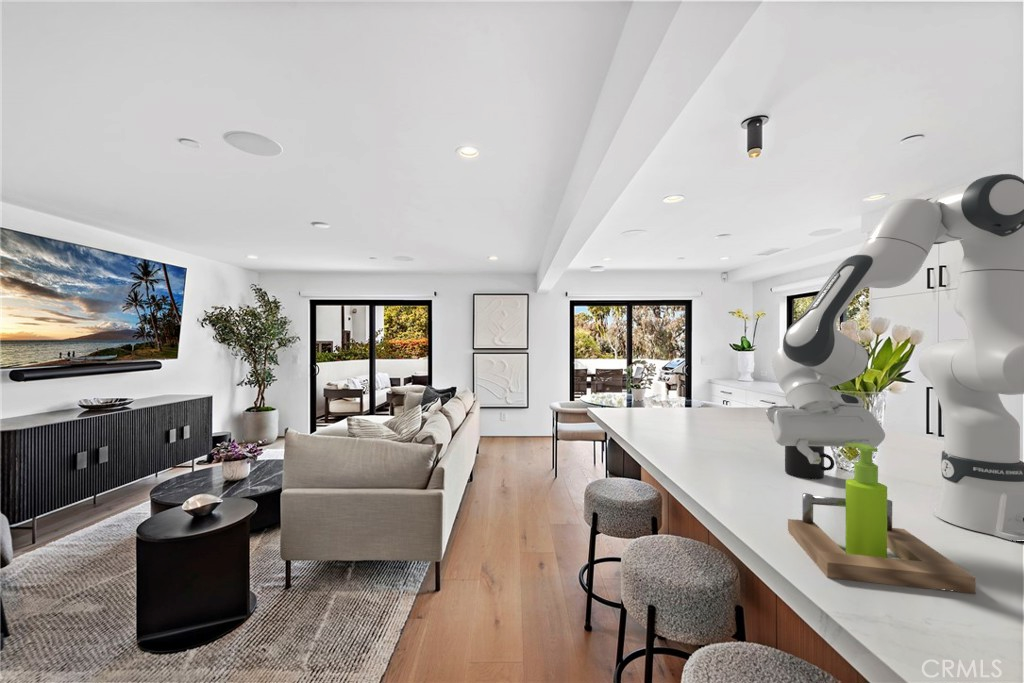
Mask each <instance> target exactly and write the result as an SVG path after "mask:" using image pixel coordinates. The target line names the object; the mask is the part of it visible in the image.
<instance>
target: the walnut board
mask: <svg viewBox="0 0 1024 683" xmlns="http://www.w3.org/2000/svg"><path fill="white" fill-rule="evenodd" d="M788 531H789V532H788ZM787 532H788V533H789V534H790V536H793V537H792V538H793V539H794V540H795V542H796V543H798V545H799V546H800V547H801V548H802V550H803V551H804V552H805V553H806V555H808V557H809V559H811V560H812V561H813V562H814V564H815V565H816V566H817V567H818V569H820V571H821V572H822V573H823V574H824V575H825V576H826V578H827V579H828V578H830V579H837V580H846V581H855V582H865V583H873V584H874V583H875V584H882V585H883V584H884V585H891V586H892V585H893V586H902V587H909V588H918V589H920V588H921V589H927V588H933V589H932V590H936V589H945V590H953V591H952V592H954V591H959V592H958V593H963V592H964V594H973V595H976V583H977V582H976V577H975V576H973V575H972V574H971V573H970V572H968V571H966V570H965V569H964V568H962V567H960V566H959V565H958V564H956V563H954V561H952V560H950V559H949V558H948V557H946V556H944V555H943V554H941V553H940V552H938V550H935V549H934V548H932V547H931V546H930V545H928V544H927V543H925V542H924V541H922V540H921V539H920V538H918V537H917V536H915V535H913V534H912V533H910V532H909V531H908V530H906V529H905V528H899V527H892V531H887V549H888V548H889V549H890V552H892V553H893V554H895V555H896V556H897V557H898V558H893V557H892V558H891V557H887V558H882V557H872V556H862V555H852V554H847V553H846V551H845V550H843V549H842V548H841V547H840V545H838V544H837V543H836V542H835V541H834V540H833V539H832V538H831V537H830V536H829V535H828V534H827V533H826V532H825V531H824V530H823V529H822V528H820V527H819V525H818V524H816V523H815V521H813V524H807V523H804V522H803V521H802V519H793V518H792V519H791V518H787ZM889 549H888V550H889ZM945 590H944V591H945Z"/></svg>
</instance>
